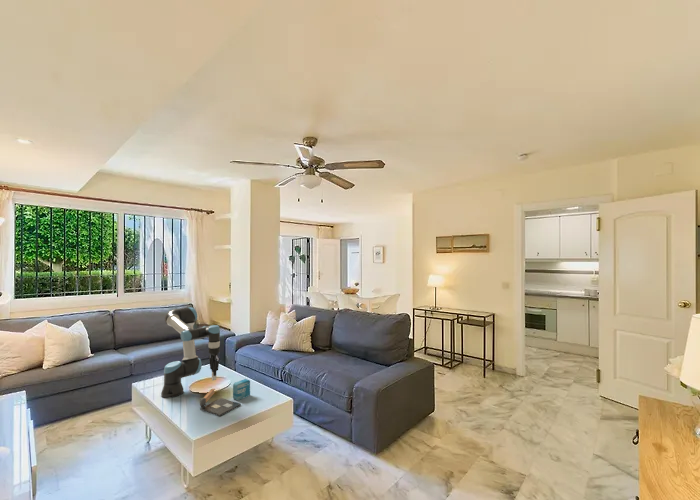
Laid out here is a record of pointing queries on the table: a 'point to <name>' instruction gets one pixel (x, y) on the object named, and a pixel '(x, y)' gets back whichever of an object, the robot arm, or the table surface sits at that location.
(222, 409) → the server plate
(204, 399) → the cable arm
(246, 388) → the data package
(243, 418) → the table surface
